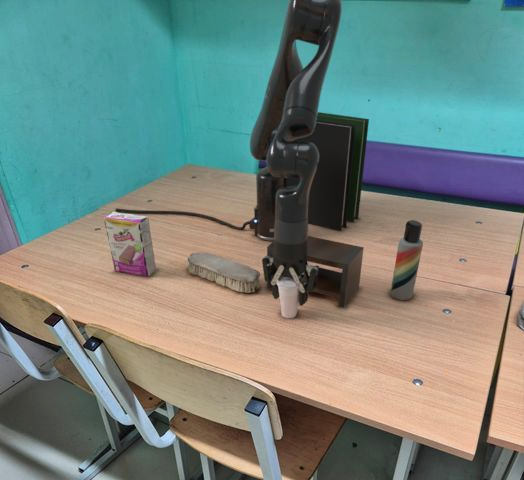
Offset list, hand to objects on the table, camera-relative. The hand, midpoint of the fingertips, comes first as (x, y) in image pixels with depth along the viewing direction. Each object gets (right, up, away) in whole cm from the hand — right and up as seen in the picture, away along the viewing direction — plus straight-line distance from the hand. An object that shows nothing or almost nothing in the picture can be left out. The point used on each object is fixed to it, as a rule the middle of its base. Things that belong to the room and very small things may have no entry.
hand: (289, 300), depth 120 cm
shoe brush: (-18, +7, +17) cm, 26 cm away
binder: (+12, +35, +53) cm, 64 cm away
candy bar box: (-43, +10, +22) cm, 49 cm away
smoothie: (0, -3, +2) cm, 4 cm away
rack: (+7, +5, +13) cm, 15 cm away
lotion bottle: (+30, +2, +9) cm, 31 cm away
